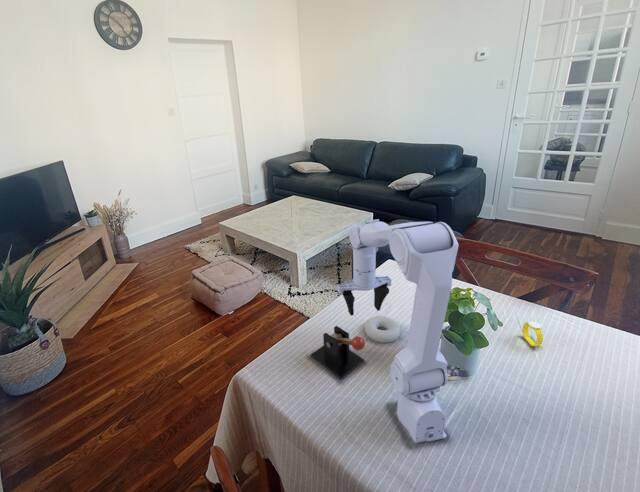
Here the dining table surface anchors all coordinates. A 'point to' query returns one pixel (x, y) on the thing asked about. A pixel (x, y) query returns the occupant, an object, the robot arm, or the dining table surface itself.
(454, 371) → the blueberries
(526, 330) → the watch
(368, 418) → the dining table surface
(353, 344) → the lever
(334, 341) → the bracket
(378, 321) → the donut
